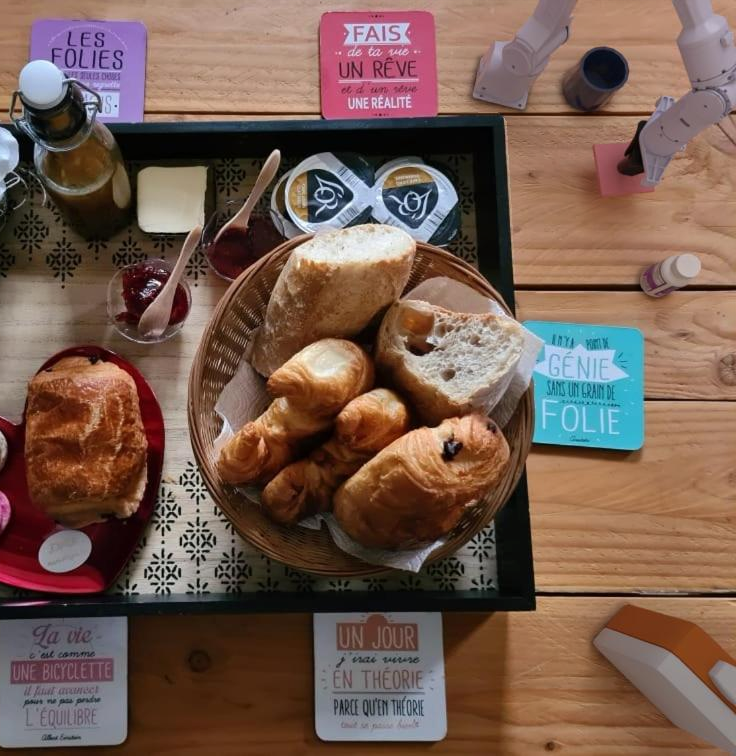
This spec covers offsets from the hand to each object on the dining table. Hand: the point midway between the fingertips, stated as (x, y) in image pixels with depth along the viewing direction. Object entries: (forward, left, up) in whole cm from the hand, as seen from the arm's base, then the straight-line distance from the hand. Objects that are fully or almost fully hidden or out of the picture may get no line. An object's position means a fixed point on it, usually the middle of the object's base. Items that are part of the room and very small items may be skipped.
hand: (628, 164), depth 122 cm
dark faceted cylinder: (-7, +16, -7) cm, 19 cm away
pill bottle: (+11, -16, -7) cm, 21 cm away
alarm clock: (+21, -78, -7) cm, 81 cm away
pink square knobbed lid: (0, 0, -2) cm, 2 cm away
